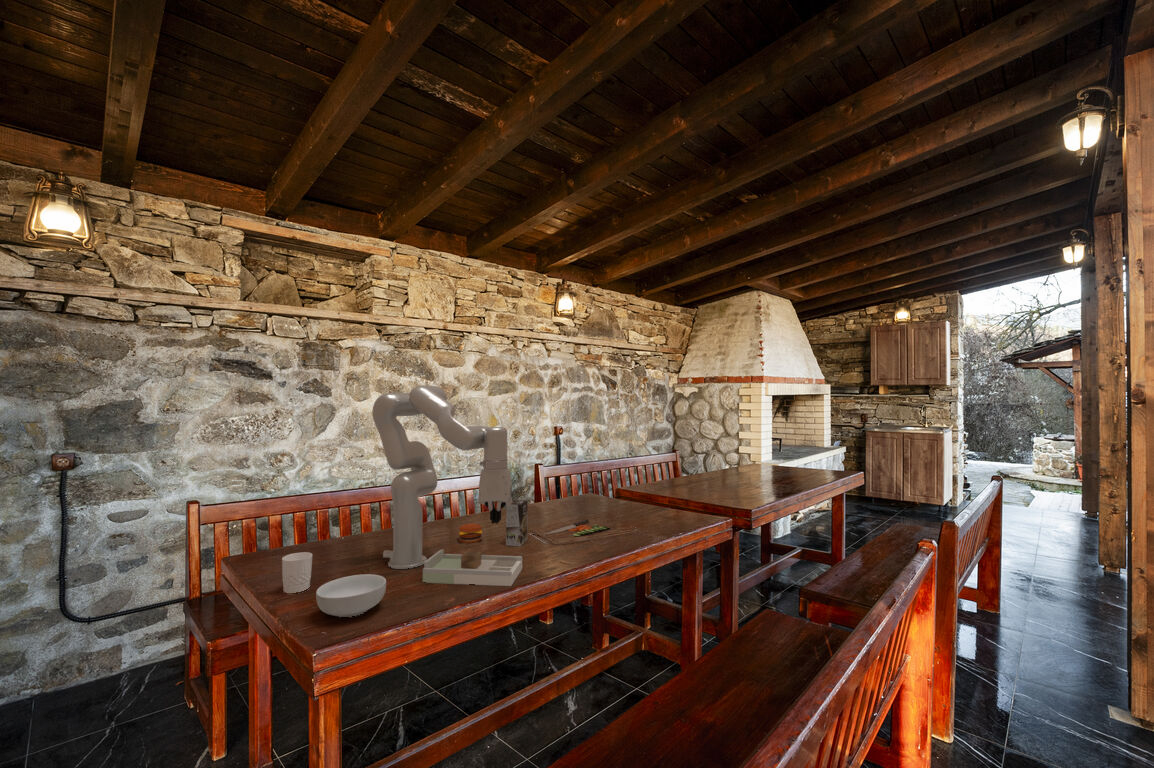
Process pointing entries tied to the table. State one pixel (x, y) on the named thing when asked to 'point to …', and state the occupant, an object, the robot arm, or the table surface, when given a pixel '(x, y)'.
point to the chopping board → (576, 532)
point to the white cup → (296, 572)
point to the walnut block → (471, 560)
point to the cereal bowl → (351, 595)
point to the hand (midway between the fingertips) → (495, 522)
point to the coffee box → (517, 523)
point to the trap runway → (472, 570)
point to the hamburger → (470, 533)
